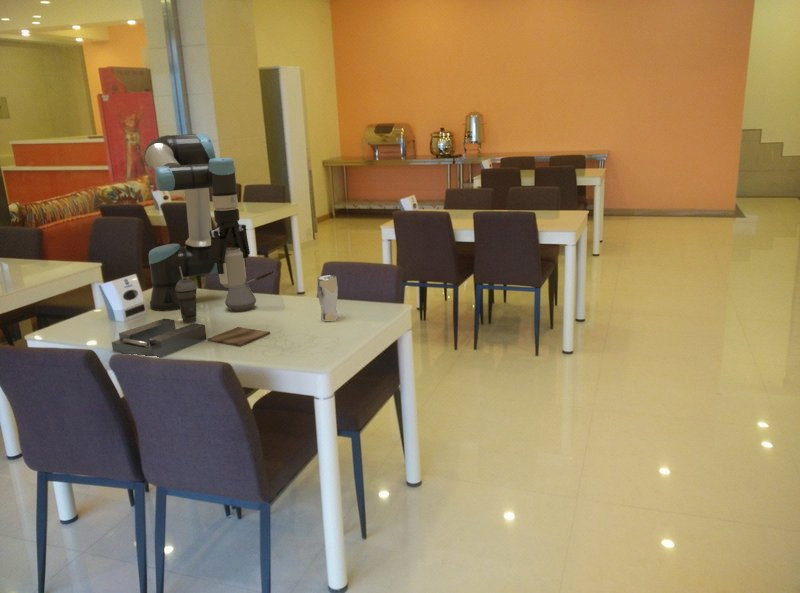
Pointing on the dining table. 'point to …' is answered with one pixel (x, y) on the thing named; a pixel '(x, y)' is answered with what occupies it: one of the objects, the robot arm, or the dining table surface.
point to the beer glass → (328, 297)
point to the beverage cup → (186, 299)
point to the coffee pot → (242, 296)
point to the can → (234, 268)
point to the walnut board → (238, 336)
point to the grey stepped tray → (159, 338)
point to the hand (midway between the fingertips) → (233, 280)
